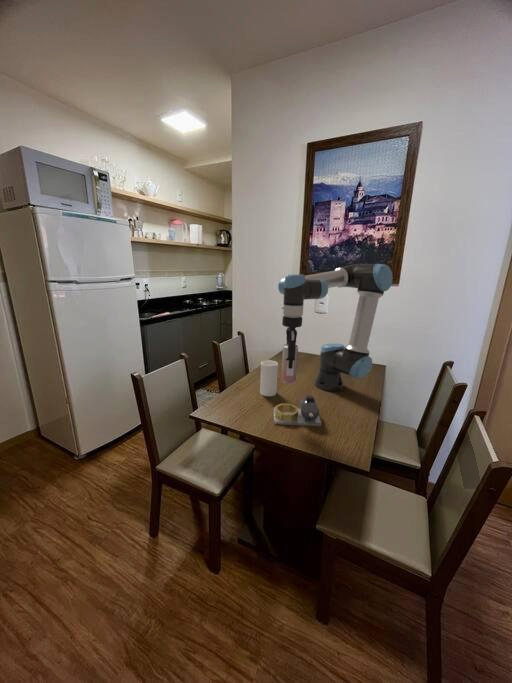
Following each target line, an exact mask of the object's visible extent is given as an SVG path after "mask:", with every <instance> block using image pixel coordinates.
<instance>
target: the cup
mask: <svg viewBox="0 0 512 683" xmlns="http://www.w3.org/2000/svg"><path fill="white" fill-rule="evenodd" d="M278 368H279V363H278V362H277V360H276V361H275V360H269V359H268V360H267V359H266V360H263V361H261V362H260V381H259V382H260V383H259V384H260V385H259V393H260V395H261V396H264V397H274V396H276V395H277V389H278V388H277V386H278Z"/></svg>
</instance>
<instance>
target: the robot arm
mask: <svg viewBox="0 0 512 683" xmlns="http://www.w3.org/2000/svg"><path fill="white" fill-rule="evenodd" d="M392 284H393V272H392V269H391V268H390V267H389V266H388V265H387V264H383V263H382V264H381V263H354V264H350V265H345V266H341V267H338V268H337V267H336V268H334V270H330V271H323V272H318V273H314V274H308V275H305V274H294V273H293V274H287V275H285V277H283V278H281V279H280V280H279V282H278V285H277V288H278V291H279V293H280V294H282V295H283V306H281V310H282V315H283V316H282V322H281V324H282V326H283V327H286V330H285V332H286V333H285V335H286V344H288V358H287V359H286V360H287V369H286V376H293V371H294V360H295V347H296V345H297V337H298V331H297V329H296V328H301V327H302V325H303V315H304V300H321V299H324V298H326V296H327V295H328V293H329V289H331V288H336V287H337V288H352V289H353V288H355V289H357V291H356V292H357V294H358V295H359V297H358V301H357V307H356V311H355V315H354V319H353V323H352V327H351V328H352V329H351V332H350V333H351V334H350V338H349V342H348V344H347V345H344V344H342V343H326V344H325V343H324V344H322V346H321V348H320V355H319V369H318V372H317V374H316V376H315V379H314V385H315V386H316V387H317V388H319V389H321V390H324V391H329V392H335V391H336V392H337V391H340V390H343V388H344V381H343V379H344V378H343V376H342V373H343V374H345V375H347V376H349V377H351V378H355V379H362V378H364V377H366V376H367V375H368V373H370V370H371V368H372V367H373V358H372V357H371V356H369V355H370V351H369V349H368V346H369V342H370V337H371V333H372V329H373V324H374V320H375V316H376V313H377V312H376V311H377V306H378V304H379V299H380V298H382V297H383V296H384V294H385V292H387V291H388V290H389V289H391V287H392Z"/></svg>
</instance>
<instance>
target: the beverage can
mask: <svg viewBox="0 0 512 683" xmlns="http://www.w3.org/2000/svg"><path fill="white" fill-rule="evenodd" d="M298 355H299V348H298V345H297V344H296V347H295V360H294V371H293V376H286V369H287V360H286V359H287V358H288V344H287V343H285V344H283V348H282V358H281V375H280V377H281V378H280V379H281V382H283V383H284V384H289V385H290V384H294V383H296V380H297V372H298V371H297V370H298V369H297V368H298Z"/></svg>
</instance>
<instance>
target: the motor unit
mask: <svg viewBox="0 0 512 683" xmlns="http://www.w3.org/2000/svg"><path fill="white" fill-rule="evenodd" d="M319 410H320V409H319V407H318V404H317V401H316V400H315V397H314V395H305V396H303V397H301V399H300V400H299V408H298V406H296V405H295V404H292V403H279V404H278V405H275V407H273V424H274V425H289V426H306V427H322V420H321V417H320V411H319Z"/></svg>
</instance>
